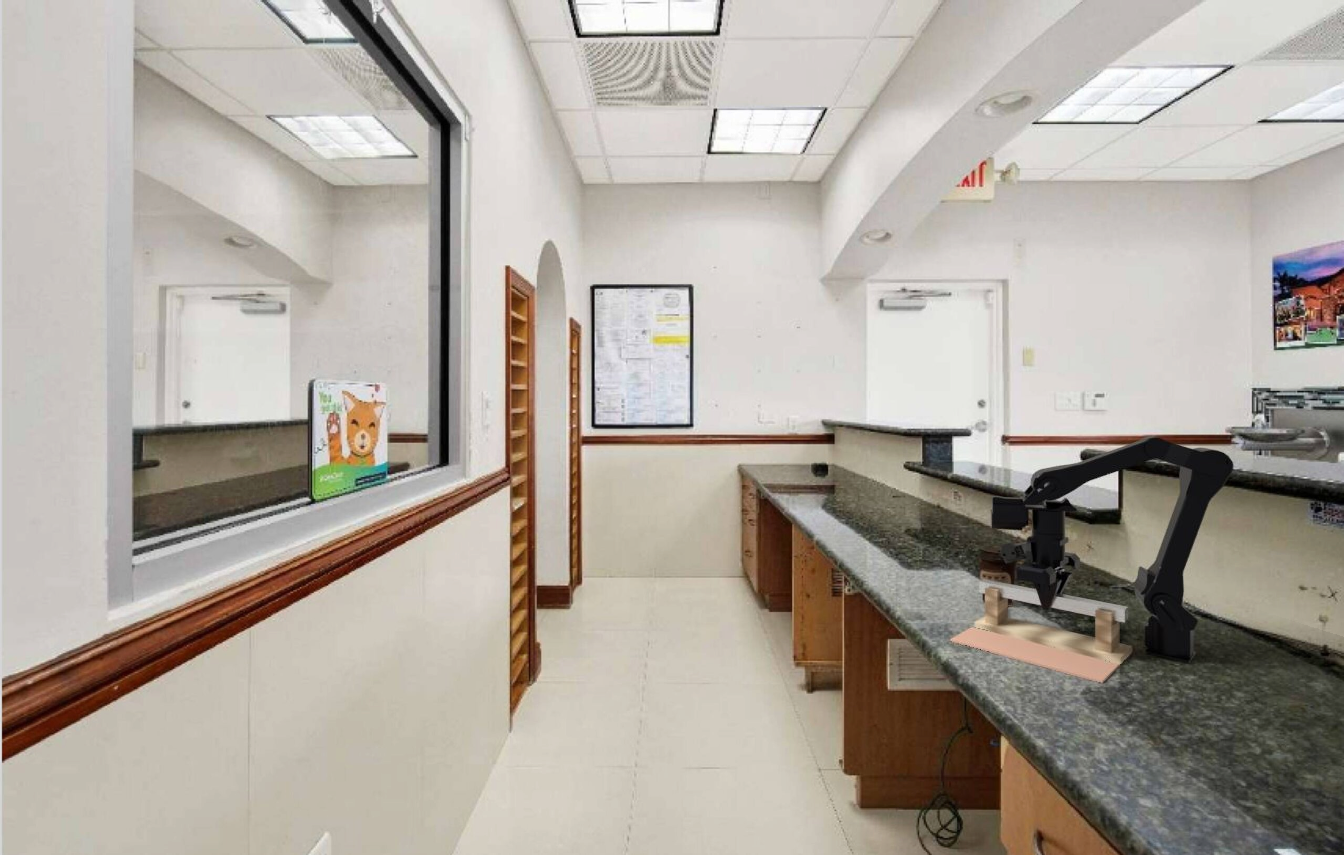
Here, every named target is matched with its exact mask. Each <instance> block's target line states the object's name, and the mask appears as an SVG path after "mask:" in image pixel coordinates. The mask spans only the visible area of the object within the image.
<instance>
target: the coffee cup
mask: <svg viewBox="0 0 1344 855" xmlns="http://www.w3.org/2000/svg"><path fill="white" fill-rule="evenodd" d="M1000 548H1001V547H995V546H994V547H993V546H991V547H982V548H981V551H980V552H979V553H978V555H977V556H978V566H979V577H980V581H981V580H983V579H985V580H991V581H996V582H1001V583H1006V584H1012V585H1016V584H1015V581H1016V579H1015V569H1016V568H1017V567H1016V566H1017V564H1018V561H1019V560H1017V561H1012V562H1011V563H1005V560H1004V558H1003V557H1000V555H999V554H1000V550H999V549H1000ZM981 594H982V602H984V603H985V593H981ZM1013 605H1014V602H1013V599H1009V598H1008V607H1012V606H1013Z"/></svg>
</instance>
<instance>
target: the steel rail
mask: <svg viewBox="0 0 1344 855" xmlns="http://www.w3.org/2000/svg"><path fill="white" fill-rule="evenodd" d="M978 581H979V582H978V589H979V591H978V592H979V593H981V594H982V593H985V588H986V587H988V588H993V589H998V590H999V597H1004V598H1009V599H1012V601H1014V600H1015V601H1019V602H1024V603H1028V604H1033V605H1037V606H1041V603H1040V600H1039V597H1038V594H1037V591H1036V588H1033V587H1032V588H1031V587H1026V586H1021V585H1017V584H1014V585H1012V584H1006V583H1001V582H996V581H991V580H985V579H983V580H981V579H980V580H978ZM1051 607H1052V608H1053V609H1056V610H1057V609H1058V610H1061V611H1066V612H1073V613H1076V614H1082V615H1086V616H1092V617H1095V611H1096V610H1097V609H1098V610H1103V611H1108V612H1113V620H1114V621H1119V623H1124V624H1125V623H1126V622H1127V621H1128V620H1129V606H1125V605H1121V604H1120V605H1119V604H1114V603H1111V602H1106V601H1105V602H1104V601H1100V600H1095V599H1089V598H1084V597H1078V596H1073V595H1068V594H1063V593H1061V594H1059V593H1056V596H1055V598H1054V601H1053V603H1052V605H1051Z"/></svg>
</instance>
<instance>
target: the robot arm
mask: <svg viewBox="0 0 1344 855" xmlns="http://www.w3.org/2000/svg"><path fill="white" fill-rule="evenodd" d="M1151 460H1160V461H1163V462H1165V463H1166V462H1167V463H1169V464H1172V465H1175V466H1178V467H1179V474H1178V475H1179V476H1178V477H1179V494H1178V497H1177V500H1176V502H1175V506H1174V508H1173V510H1172V514H1171V516H1170V520H1169V521H1168V525H1167V528H1166V530H1165V533H1164V536H1163V538H1162V542H1161V544H1160V547H1159V549H1158V552H1157V554H1156V555H1157V556H1156V558H1155V560H1154V562H1153V563H1152V564H1151V565H1150V566H1149V567H1148V568H1146V567H1143V566H1141V565H1140V566H1139V567H1138V569H1137V576H1136V579H1135V580H1134V581H1133V582H1132V583H1131V584H1132V587H1134V594H1135V597H1136V598H1137V600H1138V602H1140V603H1141V605H1142V606H1143V607H1144V608H1145V609H1146V610H1147V611H1148V612H1149V613H1150V614H1151V616H1150V617H1149V618H1148V619H1147V623H1146V624H1145V625H1144V647H1145V648H1146V649H1145V651H1144V652H1145V653H1146V654H1149V655H1152V656H1157V657H1161V658H1165V659H1169V660H1174V661H1179V662H1183V663H1186V664H1188V663H1189V664H1190V663H1191V662H1192V660H1193V659H1194V657H1195V656H1196V654H1197V651H1196V650H1194V649H1195V648H1194V644H1195V642H1194V638H1195V636H1194V633H1195V631H1194V630H1195V629H1196V626H1197V624H1198V622H1199V621H1198V619H1197V618H1196V617H1195V616H1194V615H1193V614H1192V613H1191V612H1190V611H1189V610H1188V609H1187V608H1186V607H1185V606H1183V600H1184V593H1185V587H1184V586H1185V585H1184V572H1185V568H1186V566H1187V563H1188V560H1189V558H1190V555H1191V553H1192V550H1193V547H1194V544H1195V542H1196V539H1197V536H1198V533H1199V530H1200V528H1201V525H1202V522H1203V519H1204V517H1205V515H1206V512H1207V509H1208V506H1209V503H1210V502H1211V501H1212V499H1213V498H1214V497H1215V496H1216V495H1217V494H1218V493H1219V492H1220V491H1221V490H1222V489H1223V487H1224V486H1225V484H1226V483H1227V481H1228V480H1229V478H1230V477H1231V475H1232V473H1233V471H1234V467H1235V466H1234V462H1233V460H1232V459H1231V457H1230V456H1229V455H1228V454H1226V453H1225V452H1224V451H1220V450H1217V449H1212V448H1206V447H1196V448H1195V447H1194V448H1191V447H1187V446H1184V445H1180V444H1177V443H1174V442H1171V441H1168V440H1165V439H1164V438H1160V437H1157V436H1153V435H1152V436H1145V437H1142V438H1140V439H1139V440H1137V441H1135V442H1132V443H1128V444H1126V445H1123V446H1121V447H1117V448H1114V449H1112V450H1109V451H1106V452H1104V453H1101V454H1097V455H1096V456H1093V457H1089V458H1086V459H1085V460H1081V461H1078V462H1075V463H1070V464H1069V463H1068V464H1063V465H1056V466H1049V467H1044V468H1040V469H1038V470H1037V471H1035V472H1034V473H1033V474H1032V476H1031V478H1030V485H1029V486H1028V487H1027V489H1025V490H1024V492H1022V494H1021V495H1020V496H1019V497H1010V496H1007V497H1006V496H1005V497H1004V496H1000V495H992V496H991V509H990V529H991V530H1004V531H1007V530H1008V531H1023V528H1026V527H1028V526H1029V525H1030V524H1029V520H1030V517H1029V516H1030V515H1029V514H1030V513H1029V511H1031V535H1029V536H1028V537H1026V541H1025V542H1024V541H1023V542H1019V543H1014V542H1012V541H1010V542H1007V543H1006V542H1004V543H1002V544H1001V548H1000V549H999V550H1000V554H999V555H1000V557H1003V558H1004V560H1005V563H1011V562H1012V561H1017V560H1018V561H1022V560H1025V562H1024V563H1022V564H1020V565H1018V566H1017V567H1016V569H1015V580H1017V581H1022V582H1028V583H1029V582H1030V583H1032V584H1033V586H1034V589H1036V591H1037V594H1038V597H1039V600H1040V603H1041V605H1040V606H1041V608H1042V610H1043V611H1046V612H1049V611H1050V609H1051V608H1052V607H1051V605H1052V603H1053V601H1054V598H1055V596H1056V593H1059V594H1063V591H1064V589H1066V585H1067V584H1068V582H1069V580H1070V579H1071V577H1072V576H1073V572H1070V571H1065V568H1064V566H1067V567H1068V566H1070V567H1071V568H1072V570H1078V569H1080V567H1081V558H1080V557H1079V556H1078V555H1077V554H1076V553H1075V552H1074V553H1073V552H1067V551H1066V544H1067V543H1069V537H1068V536H1066V512H1071V513H1072V512H1073V513H1074V512H1077V511H1078V508H1077V507H1076V506H1074V505H1073V504H1072V503H1071V502H1070V500H1069V498H1067V497H1065V496H1066V495H1068V494H1070V493H1072V492H1074V491H1075V490H1077V489H1079V488H1080V487H1081V486H1083V485H1084V484H1086V483H1088V482H1091V481H1094V480H1096V479H1099V478H1102V477H1105V476H1107V475H1111V474H1113V473H1116V472H1120V471H1122V470H1126V469H1127V468H1131V467H1134V466H1137V465H1140V464H1143V463H1146V462H1148V461H1151ZM1063 497H1064V498H1063ZM1062 498H1063V499H1062ZM1060 499H1062V500H1060ZM1046 500H1047V501H1046ZM1056 500H1060V501H1056ZM1042 502H1043V504H1041V503H1042ZM1018 561H1017V562H1018Z"/></svg>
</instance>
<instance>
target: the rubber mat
mask: <svg viewBox="0 0 1344 855" xmlns="http://www.w3.org/2000/svg"><path fill="white" fill-rule="evenodd" d="M949 641H950V642H951V641H952V643H955V644H958V643H959V645H962V646H965V645H967V646H966V647H969V646H970V648H973V647H974V648H973V649H976V648H978V649H977V650H980V649H981V651H984V650H985V651H984V652H987V651H989V652H988V653H992V654H995V655H999V656H1001V657H1005V658H1010V659H1013V660H1017V661H1020V662H1024V663H1027V664H1031V665H1034V666H1039V667H1042V668H1046V669H1049V670H1053V671H1057V672H1059V671H1060V673H1064V674H1066V675H1067V674H1068V675H1071V676H1074V677H1078V678H1081V679H1084V680H1085V679H1086V680H1089V681H1093V682H1096V681H1097V682H1096V683H1099V682H1101V683H1100V684H1103V683H1104V682H1105V681H1107V679H1109V677H1110V676H1111V675H1112V674H1113V673H1114V672H1115V671H1116V670H1117V669H1118V668H1119V667H1120V664H1117V663H1113V662H1109V661H1105V660H1101V659H1097V658H1093V657H1089V656H1085V655H1081V654H1077V653H1073V652H1069V651H1065V650H1062V649H1058V648H1054V647H1050V646H1046V645H1042V644H1038V643H1034V642H1030V641H1026V640H1022V639H1018V638H1014V637H1010V636H1006V635H1002V634H998V633H994V632H990V631H986V630H982V629H978V628H974V626H971V627H970V628H968V629H965V630H964V631H963V632H960V633H959V634H957V635H955V636H953V637H952V638H951V639H949Z"/></svg>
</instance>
